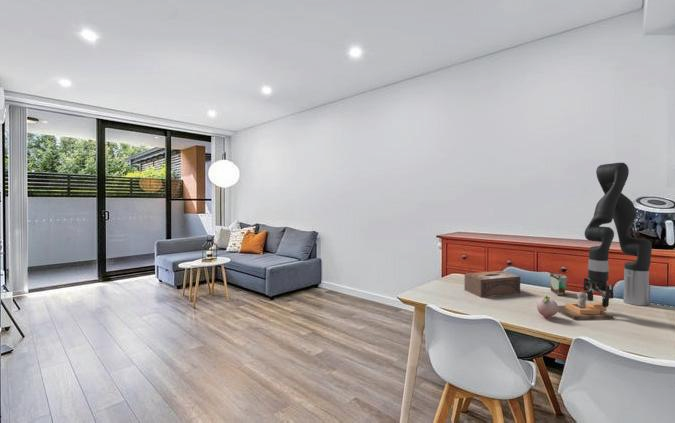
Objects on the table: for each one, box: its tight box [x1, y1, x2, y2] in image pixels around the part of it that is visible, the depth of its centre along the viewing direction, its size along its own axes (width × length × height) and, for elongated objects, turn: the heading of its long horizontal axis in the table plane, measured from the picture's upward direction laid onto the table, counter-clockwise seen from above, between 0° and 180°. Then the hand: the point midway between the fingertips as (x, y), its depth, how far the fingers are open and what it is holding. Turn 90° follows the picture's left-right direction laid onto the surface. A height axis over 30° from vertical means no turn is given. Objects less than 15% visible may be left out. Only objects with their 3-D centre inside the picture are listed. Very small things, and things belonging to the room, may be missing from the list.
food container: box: [549, 273, 569, 297], centre depth 184 cm, size 12×6×10 cm, turn 168°
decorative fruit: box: [536, 295, 559, 319], centre depth 148 cm, size 9×8×10 cm
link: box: [565, 302, 607, 314], centre depth 152 cm, size 15×9×3 cm, turn 91°
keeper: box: [557, 291, 614, 321], centre depth 152 cm, size 18×14×10 cm
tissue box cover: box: [464, 270, 521, 298], centre depth 189 cm, size 26×14×10 cm, turn 103°
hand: (597, 303), depth 153 cm, fingers open, 8 cm apart
